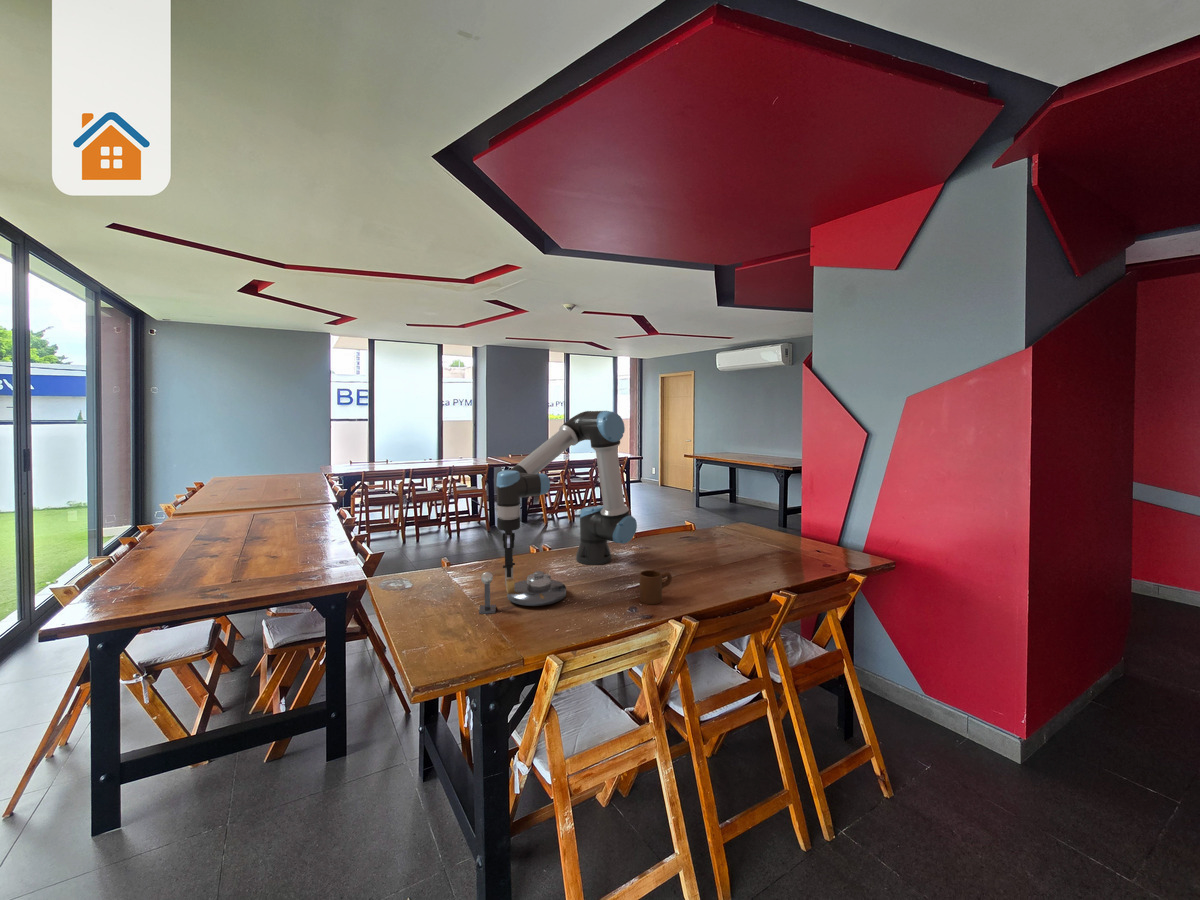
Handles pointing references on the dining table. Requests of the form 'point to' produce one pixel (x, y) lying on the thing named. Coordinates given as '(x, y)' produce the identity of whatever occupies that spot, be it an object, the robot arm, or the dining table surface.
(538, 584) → the cover
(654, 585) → the mug
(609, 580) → the dining table surface
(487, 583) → the globe lamp
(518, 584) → the turntable
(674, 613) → the dining table surface
